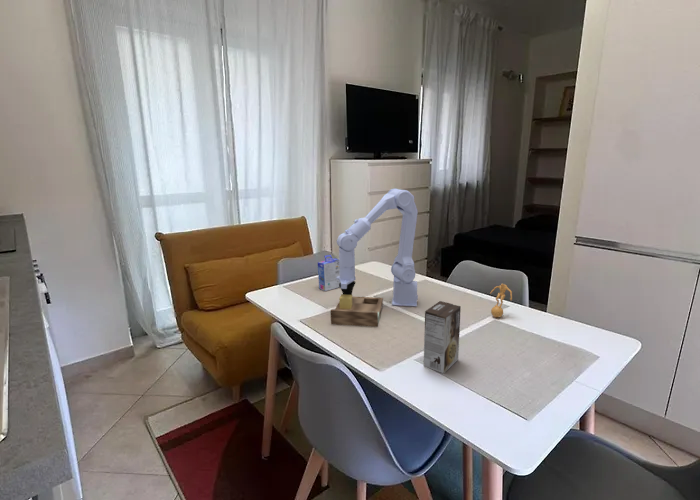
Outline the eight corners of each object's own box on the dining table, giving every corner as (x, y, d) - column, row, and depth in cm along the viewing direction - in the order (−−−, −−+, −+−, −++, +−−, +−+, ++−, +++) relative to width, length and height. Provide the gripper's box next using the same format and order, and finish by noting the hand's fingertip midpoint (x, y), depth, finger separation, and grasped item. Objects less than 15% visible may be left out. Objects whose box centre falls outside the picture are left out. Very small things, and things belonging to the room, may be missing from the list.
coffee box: (437, 352, 108) (439, 300, 105) (458, 359, 104) (461, 305, 101) (422, 366, 102) (423, 310, 98) (444, 374, 98) (447, 316, 94)
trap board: (382, 303, 146) (382, 291, 145) (377, 326, 126) (377, 312, 125) (342, 301, 149) (342, 289, 148) (330, 324, 129) (330, 310, 127)
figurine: (483, 314, 134) (485, 282, 132) (493, 310, 138) (495, 279, 135) (504, 322, 128) (507, 288, 125) (514, 317, 131) (517, 285, 128)
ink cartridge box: (335, 283, 171) (335, 252, 168) (343, 286, 167) (342, 255, 164) (317, 288, 165) (316, 256, 162) (325, 291, 161) (324, 259, 158)
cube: (352, 304, 139) (352, 294, 138) (350, 309, 135) (350, 298, 134) (341, 304, 139) (341, 294, 138) (339, 308, 136) (339, 298, 135)
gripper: (340, 260, 145) (340, 293, 148) (332, 271, 131) (333, 307, 134) (358, 261, 143) (358, 294, 147) (352, 271, 130) (352, 308, 133)
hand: (347, 301), depth 140 cm, fingers closed
